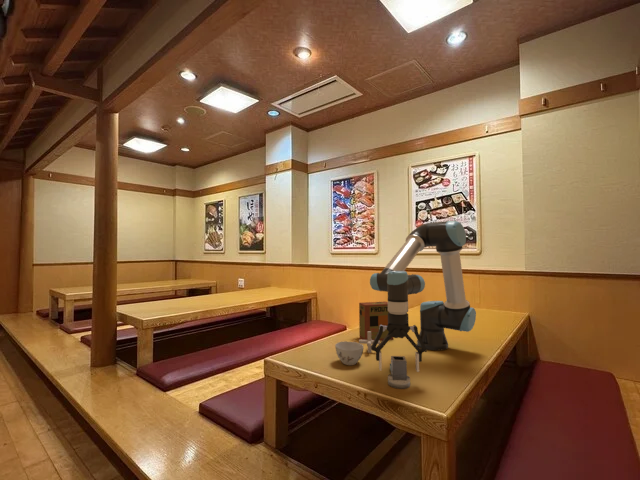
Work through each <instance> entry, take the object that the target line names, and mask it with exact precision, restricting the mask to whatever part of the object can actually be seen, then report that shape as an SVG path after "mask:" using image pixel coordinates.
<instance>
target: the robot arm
mask: <svg viewBox="0 0 640 480" xmlns="http://www.w3.org/2000/svg"><path fill="white" fill-rule="evenodd" d="M466 239H467V232H466V230H465V227H464V226H463V224H462V223H461V222H460V221H455V220H453V221H451V220H449V221H445V220H444V221H436V222H435V221H434V222H426V223H423V224H421V225H419V226H418V227H416V228H415V229H414V230H413V231H411V232H410V233H409V234H408V235H407V236H406V238H405V242H404V243H403V245H402V246H401V247H400V248H399V249H398V250H397V252H396V253H395V255H394V256H392V258H391V259H390V261H389V262H388V263H387V264H386V265H385V267H384V268H383V269H382V270H381V271H380V272H374V273H372V274H371V276H370V278H369V284H370V288H371V289H372V290H374V291H376V292H377V291H378V292H385V293H386V292H387V302H388V311H389V313H388V325H387V326H383V325H381V324H380V326H379V331H378V333H377V335H376V337H375V339H374V341H373V344H371V352H373V351H374V352H375V360H376V362H377V361H378V369H379V372H380V371H381V372H382V367H383V366H382V364H383V363H382V360H383V359H382V358H383V357H382V351H381V350H382V349H383V348H384V347H385V346H386V344H388V342H389V341H391V340H390V339H391V338H392V337H393V339H404V338H406V339H407V341H408V342H409V343H410V344H411V345H412V346H413V348H414V349H415V350H416V351H415V357H414V358H415V371H416V372H417V373H419V372H420V363H422V362H423V353H427V351H428V350H429V351H444V350H447V349H449V342H448V339H447V337H446V334H445V329H446V330H447V329H448V330H454V331H459V332H466V333H467V332H468V333H469V332H471V330H473V328H474V326H475V323H476V316H477V312H476V309H475V308H474V307H471V304H470V303H471V302H469V301H468V300H467V299H466V292H465V291H466V290H465V285H464V277H463V268H462V261H461V255H460V254H461V251H462V250H463V246H465V245H466V243H467V240H466ZM428 247H435V250H436V252H437V253H438V254H439V256H440V261H441V269H442V275H443V276H442V277H443V284H444V290H445V291H444V292H445V297H446V301H445V302H444V301H443V300H428V301H423V302H421V303H420V305H419V319H420V320H419V321H420V323H419V324H420V331H419V329H418V326H417V325H416V324H414V325H409V313H408V312H409V295H414V294H418V293H422V292H423V291H424V290H425V287H426V281H425V279H424V278H423V276H421V275H419V274H413V273H412V274H409V273H408V272H407V271H406V269H407V268H408V266H409V265H410V264H411V263H412V261H413V259H414V258H415V257H416V256H417V255H418V253H419V252H422V251H423V250H424V249H425V248H428ZM385 329H387V330H388V332H389V333H388V334H387V336H386V337H385V338H384V339H383V340H382V341H380V344H377V343H378V341H379V339H380V337H381V335H382V333H383V332H384V331H385ZM410 331H411V332H412V333H414V335H415V337H416V339H417V340H416V342H415V340H413V339H412V337H411V336H410V335H409V332H410Z"/></svg>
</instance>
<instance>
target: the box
mask: <svg viewBox="0 0 640 480" xmlns="http://www.w3.org/2000/svg"><path fill="white" fill-rule="evenodd" d="M358 304H359V307H358V308H359V309H358V316H359V318H358V321H359V324H358V325H359V327H358V329H359V333H358V334H359V339H360V340H368V335H367V332H368V331H371V339H372V340H374V339H375V337H376V335H377V333H378V331H379V326H380V324H381V325H383V326H387V325H388V313H389V311H388V301H369V302H368V301H367V302H365V301H364V302H359V303H358ZM388 333H389V332H388V330H387V329H385V331H384V332H383V333H382V335H381V337H380V339H379V341H380V342H382V340H383V339H384V338H385V337H386V336H387V334H388ZM389 341H394V337H392V338H391V339H390V340H389Z"/></svg>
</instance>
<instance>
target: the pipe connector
mask: <svg viewBox="0 0 640 480" xmlns="http://www.w3.org/2000/svg"><path fill="white" fill-rule="evenodd" d="M367 335H368V340H362V339H358V343H359V344H364V345H365V344H366V346H367V353H368V354H371V353H372V350H371V346H372V344H373V341H374V340H372V339H371V331H368V332H367ZM380 343H381V341H378V343H377V345H379V344H380Z"/></svg>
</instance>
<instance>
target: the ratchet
mask: <svg viewBox="0 0 640 480" xmlns="http://www.w3.org/2000/svg"><path fill="white" fill-rule="evenodd" d="M389 371H390V372H391V363H389ZM387 384H388V386H390V387H391V388H394V389H399V390H405V389H409V388H410V387H411V378H410V376H408V375H407V380H393V379H392V375H391V373H389V374H388V375H387Z"/></svg>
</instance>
